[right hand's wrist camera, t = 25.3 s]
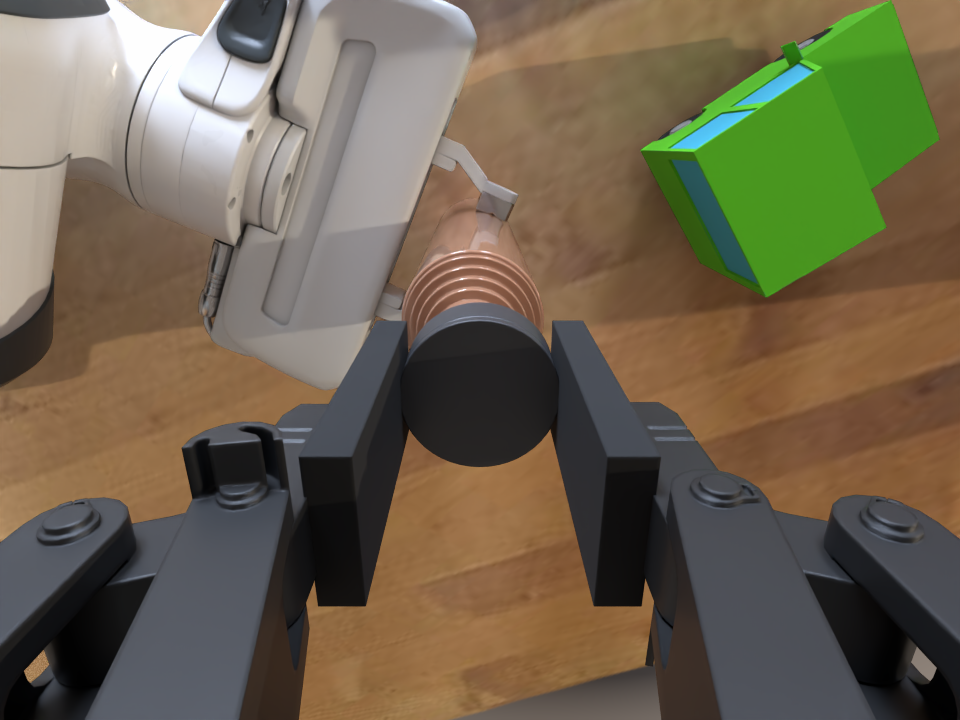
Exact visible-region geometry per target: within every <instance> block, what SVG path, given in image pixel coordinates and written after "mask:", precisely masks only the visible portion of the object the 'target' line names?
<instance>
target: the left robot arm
mask: <svg viewBox="0 0 960 720" xmlns="http://www.w3.org/2000/svg"><path fill="white" fill-rule="evenodd" d="M476 49H477V35H476V33H475V30H474V27H473V25H472V23H471V21H470V19H469V17H468V15H467V14H466V13H465V12H464V11H462V10H461V9H459V8H458V7H456V6H454V5H452V4H450V3H448V2H446V1H443V0H225V2H224V3H223V5H222V7H221V8H220V10H219V12H218V13H217V15H216V16H215V18H214V19H213V21H212V22H211V24H210V25H209V27H208V28H207V30H206V31H205V33H204V34H203V36H202V37H201V36H199V35H196V34H194V33H191V32H187V31H182V30H176V29H168V28H163V27H159V26H156V25H153V24H151V23H149V22H147V21H145V20H143V19H141V18H140V17H138V16H137V15H136V14H134V13H133V12H132V11H131V10H129V9H128V8H127V7H126V6H125V5H123V4H122V3H121V2H119V1H118V0H0V387H2V386H4V385H6V384H8V383H9V382H11V381H12V380H14V379H15V378H17V377H18V376H20V375H22V374H23V373H25V372H26V371H28V370H29V369H30V368H32V367H33V366H34V365H36V364H37V363H38V362H39V361H40V360H41V359H42V358H43V356H44V355H45V354H46V352H47V351H48V349H49V347H50V345H51V342H52V338H53V310H54V272H53V262H54V255H55V248H56V240H57V233H58V226H59V219H60V212H61V205H62V197H63V190H64V183H65V177H66V178H71V179H78V180H86V181H92V182H96V183H99V184H102V185H105V186H107V187H109V188H110V189H112V190H114V191H116V192H117V193H119V194H120V195H121V196H122V197H124V198H125V199H126V200H128V201H129V202H131V203H132V204H133V205H135V206H137V207H139V208H141V209H143V210H145V211H148V212H150V213H152V214H155V215H157V216H160V217H162V218H165V219H167V220H170V221H172V222H175V223H177V224H180V225H182V226H185V227H187V228H190V229H192V230H195V231H197V232H200V233H202V234H205V235H207V236H210V237H212V238H215V239H214V243H213V246H212V251H211V255H210V259H209V263H208V270H207V279H206V283H205V286H204V289H203V290H202V292H201V294H200V297H199V302H198V312H199V314H201V315H202V316H203V322H204V326H205V329H206V331H207V332H208V334H209V335H210V337H211V339H212V341H213V342H214V343H216V344H217V345H219V346H221V347H223V348H226V349H228V350H231V351H234V352H236V353H239V354H242V355H245V356H250V357H255V358H257V359H259V360H261V361H262V362H264V363H266V364H268V365H270V366H271V367H273V368H275V369H277V370H279V371H281V372H283V373H285V374H287V375H289V376H291V377H293V378H295V379H297V380H299V381H301V382H304V383H306V384H308V385H311V386H313V387H315V388H318V389H321V390H331V389H335V388H338V387H339V385H340V384H341V382H342V380H343V379H344V377H345V375H346V373H347V372H348V370H349V368H350V366H351V365H352V363H353V361H354V359H355V358H356V356H357V354H358V352H359V351H360V349H361V347H362V346H363V344H364V342H365V340H366V339H367V337H368V335H369V333H370V330H371V328H372V325H373V322H374V320H375V317H376V316H378V317H380V318H383V319H385V320H388V321H401V313H402V305H403V301H404V297H405V295H406V291H405V290H403V289H401V288H399V287H396V286H394V285H392V284H389V280H390V277H391V275H392V272H393V269H394V267H395V264H396V262H397V259H398V256H399V254H400V251H401V248H402V246H403V243H404V240H405V238H406V235H407V232H408V230H409V227H410V224H411V222H412V219H413V217H414V214H415V211H416V209H417V206H418V203H419V201H420V198H421V195H422V193H423V190H424V187H425V185H426V182H427V180H428V177H429V174H430V172H431V169H432V166H433V164H434V165H436V166H438V167H441V168H443V169H445V170H448V171H450V172H451V171H453V170H454V169H455V167H456V165H457V161H458V163H459V164H460V165H461V167H462V168H463V169H464V171H465V172H466V173H467V175H468V176H469V177H470V179H471V180H472V182H473V183H474V184H475V186H476V187H477V188H478V190H479V191H480V192H481V193H480V196H479V199H478V201H477V204H476V209H477V210H480V211H482V212H484V213H487V214H490V213H493V214H494V216H495V217H496V218H498V219H500V220H502V221H505V222H507V220H508V218H509V216H510V213H511V211H512V209H513V207H514V204H515V202H516V200H517V198H518V194H516V193H515V192H513V191H511V190H509V189H506V188H504V187H502V186H500V185H497V184H495V183H493V182H491V181H489V180H487V177H486V175H485V174H484V172H483V171H482V170H481V168H480V167H479V165H478V164H477V163H476V161H475V160H474V158H473V157H472V156H471V154H470V153H469V151H468V150H467V149H466V147H465V146H464V145H462V144H460V143H457V142H455V141H453V140H451V139H449V138H447V137H444V135H445V132H446V129H447V127H448V124H449V121H450V119H451V116H452V113H453V111H454V108H455V105H456V103H457V100H458V98H459V95H460V92H461V90H462V87H463V84H464V82H465V79H466V76H467V74H468V71H469V68H470V66H471V63H472V60H473V58H474V55H475V52H476ZM212 317H215V320H214V324H213V325H212V322H211V318H212Z"/></svg>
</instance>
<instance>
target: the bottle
mask: <svg viewBox="0 0 960 720" xmlns="http://www.w3.org/2000/svg"><path fill="white" fill-rule="evenodd" d="M477 201H478V198H470V199H465V200H461V201H459V202H457V203H455V204H453V205H452V206H451V207H450V208H449V209H448V210H446V212H445V213H444V214H443V216H442V218H441V220H440V222H439V224H438V226H437V228H436V230H435V232H434V235H433V237H432V239H431V241H430V243H429V245H428V247H427V249H426V252H425V254H424V256H423V258H422V260H421V262H420V264H419V267H418V269H417V271H416V273H415V275H414V277H413V279H412V281H411V284H410V286H409V288H408V290H407V293H406V295H405V298H404V301H403V305H402V313H401V321H407V329H408V348H409V350H410V348H411V346H412V343H413V341H414V339H415V338H416V336H417V335H418V333H419V332H420V330H421V329H422V328H423V327H424V326H425V325H426V323H428V322H429V321H430V320H431V319H432V318H433V317H435V316H436V315H438V314H440V313H441V312H443V311H445V310H447V309H449V308H452V307H455V306H458V305H461V304H467V303H476V302H484V303H493V304H498V305H502V306H505V307H508V308H510V309H512V310H514V311H516V312H518V313H520V314H521V315H523V316H524V317H526V318H527V319H528V320H529V321H531V322H532V323H533V324H534V325H535V326H536V327H537V329H538V330H539V331H540V332H541V334H542V332H543V325H544V311H543V305H542V301H541V298H540V295H539V292H538V290H537V287H536V285H535V283H534V280H533V278H532V276H531V273H530V271H529V269H528V266H527V264H526V262H525V260H524V257H523V255H522V253H521V250H520V248H519V246H518V243H517V241H516V239H515V236H514V234H513V232H512V229H511V227H510V225H509V222H508V220H507V222H505V221H502V220H500V219H498V218H496V217H495V216H494V214H493V213H490V214H487V213H484V212H482V211H480V210H477V209H476V204H477Z"/></svg>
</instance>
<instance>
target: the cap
mask: <svg viewBox="0 0 960 720" xmlns="http://www.w3.org/2000/svg"><path fill="white" fill-rule="evenodd" d="M400 385H401V404H402V415H403V417H404V420H405V422H406V424H407V426H408V428H409V429H410V431H411V433H412V434H413V435H414V436H415V438H416V439H417V440H418V441H419V442H420V443H421V444H422V445H423V446H424V447H425V448H426V449H428V450H429V451H430V452H432V453H433V454H435V455H437V456H438V457H440V458H442V459H445V460H447V461H449V462H452V463H456V464H459V465H464V466H471V467H489V466H495V465H500V464H504V463H507V462H510V461H512V460H515V459H517V458H519V457H521V456H523V455H524V454H526V453H528V452H529V451H530V450H532V449H533V448H534V447H535V446H536V445H538V444H539V443H540V442H541V441H542V439H543V438H544V437H545V436H546V434H547V433H548V432H549V430H550V428H551V427H552V425H553V423H554V421H555V418H556V416H557V412H558V397H559V377H558V374H557V371H556V368H555V365H554V362H553V359H552V356H551V353H550V350H549V347H548V345H547V343H546V340H545V338H544V337H543V335H542V334H541V332H540V331H539V330H538V329H537V327H536V326H535V325H534V324H533V323H532V322H531V321H529V320H528V319H527V318H526V317H524V316H523V315H521V314H520V313H518V312H516V311H514V310H512V309H510V308H508V307H505V306H502V305H498V304H493V303H484V302H476V303H467V304H461V305H458V306H455V307H452V308H449V309H447V310H445V311H443V312H441V313H440V314H438V315H436V316H435V317H433V318H432V319H431V320H430V321H429V322H428V323H426V325H425V326H424V327H423V328H422V329H421V330H420V332H419V333H418V335H417V336H416V338H415V339H414V341H413V343H412V346H411V348H410V351H409V354H408V357H407V360H406V363H405V366H404V369H403V372H402V375H401V379H400Z"/></svg>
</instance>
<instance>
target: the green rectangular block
mask: <svg viewBox="0 0 960 720" xmlns="http://www.w3.org/2000/svg"><path fill="white" fill-rule="evenodd" d="M781 49H782V51H783V55H782V56H780V57H779V58H778V59H776V60H775V62H774V63H770V64H769V65H767V66H765V67H764V68H762V69H761V70H759V71H758V72H756V73H755V74H753V75H752V76H750V77H749V78H747V79H746V80H744V81H743V82H741V83H740V84H738V85H737V86H735V87H734V88H732V89H731V90H729V91H728V92H726V93H725V94H723V95H722V96H720V97H719V98H717V99H716V100H714V101H713V102H711V103H710V104H708V105H707V106H705V107H704V108H702V111H703V113H700V114H697V115H695V116H693V117H691V118H689V119H687V120H685V121H683V122H682V123H680V124H679V125H677V126H675V127H674V128H672V129H671V130H669V131H668V132H667V133H665V134H664V135H663V136H661V137H660V138H659V139H658V140H657V141H653V142H652V143H650V144H649V145H647V146H646V147H644V148H643V149H641V150H640V151H641V153H642V154H643V156H644V158H645V160H646V162H647V164H648V166H649V168H650V170H651V171H652V173H653V175H654V177H655V179H656V181H657V183H658V185H659V186H660V188H661V190H662V192H663V194H664V196H665V198H666V200H667V202H668V203H669V205H670V207H671V209H672V211H673V213H674V215H675V217H676V218H677V220H678V222H679V224H680V226H681V228H682V230H683V232H684V234H685V235H686V237H687V239H688V241H689V243H690V245H691V247H692V249H693V250H694V252H695V254H696V256H697V258H698V260H699V262H700V263H701V264H703V265H705V266H707V267H709V268H711V269H713V270H715V271H716V272H718V273H720V274H722V275H724V276H726V277H728V278H730V279H732V280H734V281H736V282H737V283H739V284H741V285H743V286H745V287H747V288H749V289H751V290H753V291H755V292H757V293H758V294H760V295H762V296H764V297H766V298H767V297H769V296H770V295H772V294H774V293H775V292H777V291H779V290H781V289H782V288H784V287H786V286H787V285H789V284H791V283H793V282H794V281H796V280H798V279H799V278H801V277H803V276H805V275H806V274H808V273H810V272H811V271H813V270H815V269H816V268H818V267H820V266H822V265H823V264H825V263H827V262H828V261H830V260H832V259H834V258H835V257H837V256H839V255H840V254H842V253H844V252H846V251H847V250H849V249H851V248H852V247H854V246H856V245H857V244H859V243H861V242H863V241H864V240H866V239H868V238H869V237H871V236H873V235H875V234H876V233H878V232H880V231H881V230H883V229H885V228H887V227H886V225H885V222H884V220H883V218H882V215H881V213H880V210H879V208H878V205H877V203H876V200H875V198H874V195H873V193H872V190H871V189H873V188H874V187H875V186H877V185H878V184H879V183H881V182H882V181H884V180H885V179H886V178H888V177H889V176H890V175H892V174H893V173H894V172H896V171H897V170H899V169H900V168H901V167H903V166H904V165H905V164H907V163H908V162H909V161H911V160H912V159H914V158H915V157H916V156H918V155H919V154H920V153H922V152H923V151H925V150H926V149H927V148H929V147H930V146H931V145H933V144H934V143H935V142H937V141H938V140H940V139H939V136H938V131H937V128H936V125H935V122H934V119H933V116H932V114H931V111H930V108H929V105H928V102H927V99H926V97H925V94H924V91H923V88H922V85H921V82H920V79H919V77H918V74H917V71H916V68H915V65H914V62H913V59H912V57H911V54H910V51H909V48H908V45H907V42H906V39H905V37H904V34H903V31H902V28H901V25H900V22H899V19H898V17H897V14H896V11H895V8H894V5H893V4H892V2H891V0H890V1H887V2H884V3H882V4H879V5H876V6H873V7H870V8H868V9H865V10H862V11H859V12H856V13H854V14H851V15H848V16H846V17H845V18H843V19H841V20H840V21H838V22H836V23H835V24H833V25H832V26H830V27H828V28H827V29H825V30H824V32H821V33H819V34H817V35H815V36H813V37H811V38H809V39H807V40H805V41H804V42H802V43H800V44H798V45H797V43H796V41H794V42H791V43H788V44H786V45H783V46H781Z"/></svg>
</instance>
